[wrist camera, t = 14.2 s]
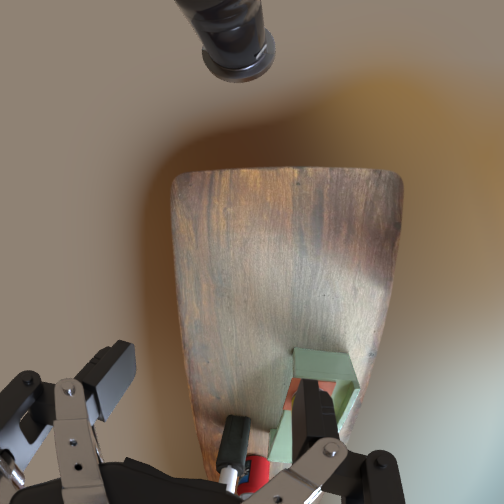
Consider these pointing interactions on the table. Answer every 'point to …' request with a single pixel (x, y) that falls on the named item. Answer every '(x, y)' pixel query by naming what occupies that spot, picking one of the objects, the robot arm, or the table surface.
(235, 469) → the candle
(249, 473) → the beverage can
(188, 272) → the table surface
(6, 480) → the robot arm
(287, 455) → the shelf
